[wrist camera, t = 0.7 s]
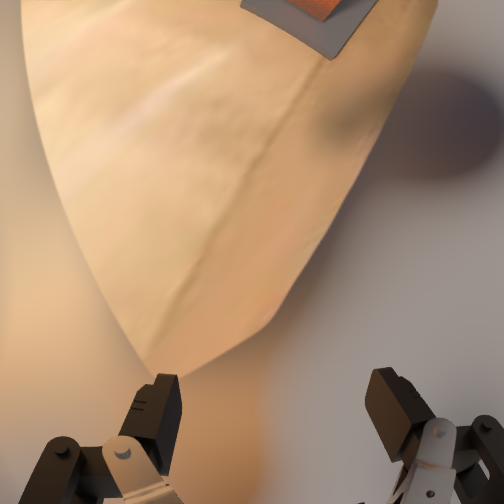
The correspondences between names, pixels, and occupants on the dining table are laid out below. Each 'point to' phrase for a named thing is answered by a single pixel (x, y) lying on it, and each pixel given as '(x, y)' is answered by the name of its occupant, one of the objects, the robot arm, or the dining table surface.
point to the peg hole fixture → (313, 22)
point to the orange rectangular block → (316, 7)
